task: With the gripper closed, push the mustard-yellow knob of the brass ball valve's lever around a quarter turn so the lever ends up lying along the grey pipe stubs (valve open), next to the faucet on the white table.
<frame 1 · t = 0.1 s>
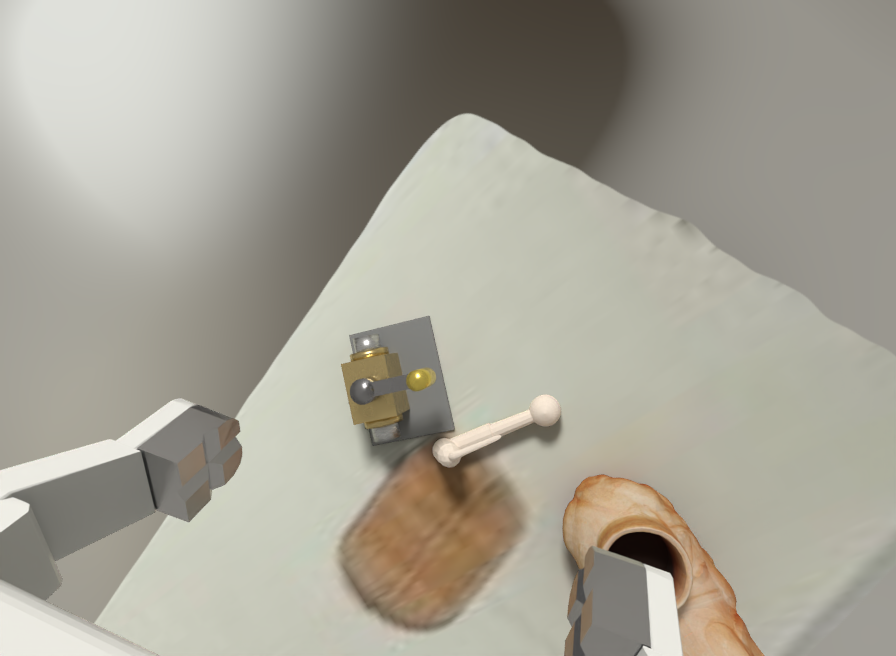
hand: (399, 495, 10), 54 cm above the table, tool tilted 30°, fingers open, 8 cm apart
valve base plate: (401, 381, 67), on the table
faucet: (495, 427, 64), on the table
ceramic vessel: (645, 560, 60), on the table
valve body: (383, 385, 67), resting on valve base plate
valve lever: (389, 385, 57), point 9 cm above the table, hinge at 0.0°
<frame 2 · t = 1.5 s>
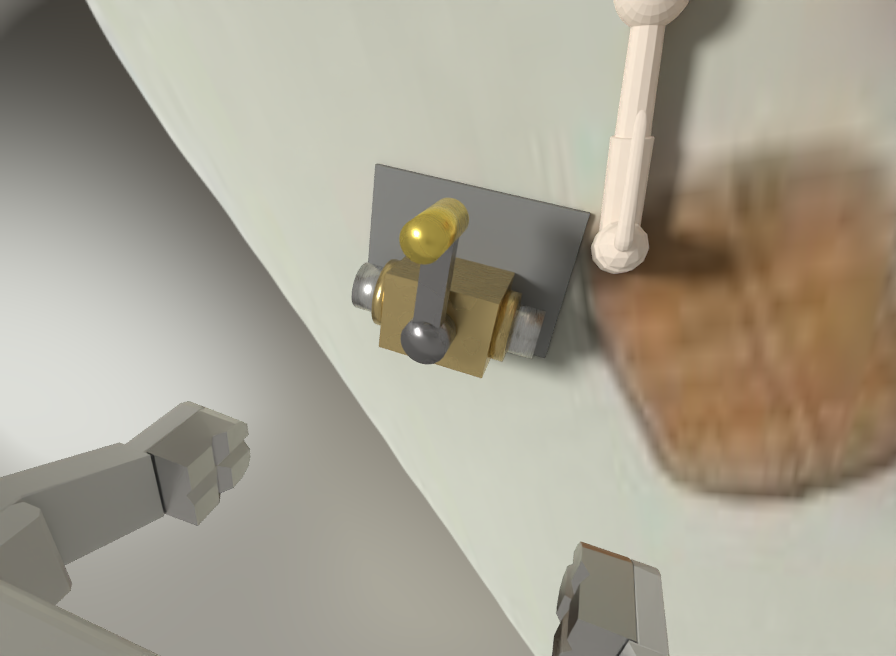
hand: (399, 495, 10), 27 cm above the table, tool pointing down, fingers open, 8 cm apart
valve base plate: (465, 263, 37), on the table
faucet: (631, 129, 30), on the table
valve body: (458, 294, 38), resting on valve base plate
valve lever: (428, 294, 29), point 9 cm above the table, hinge at 0.0°
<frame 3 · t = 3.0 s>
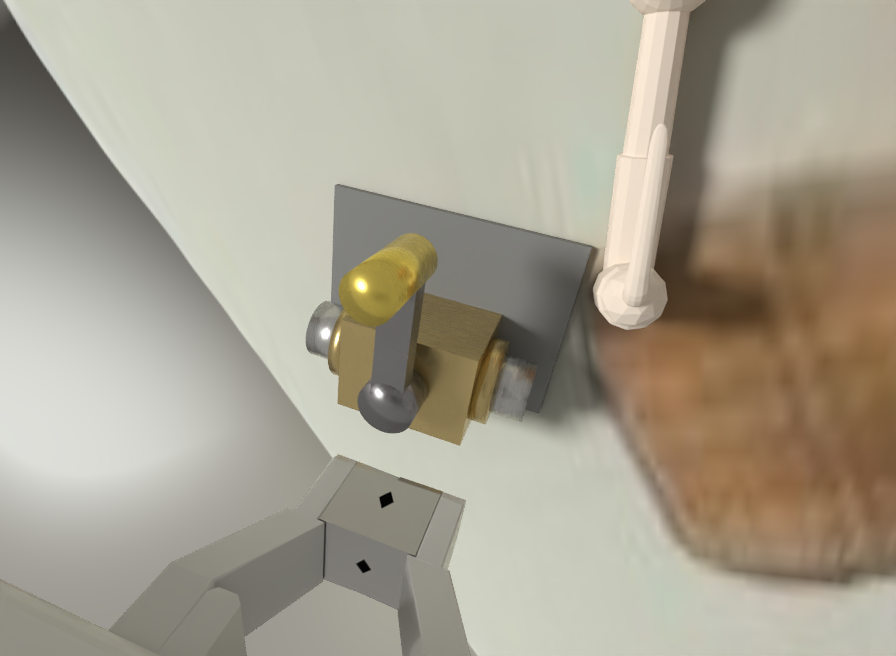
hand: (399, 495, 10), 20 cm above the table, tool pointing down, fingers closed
valve base plate: (443, 302, 31), on the table
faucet: (643, 145, 24), on the table
valve body: (436, 336, 32), resting on valve base plate
valve lever: (386, 354, 23), point 9 cm above the table, hinge at 0.0°
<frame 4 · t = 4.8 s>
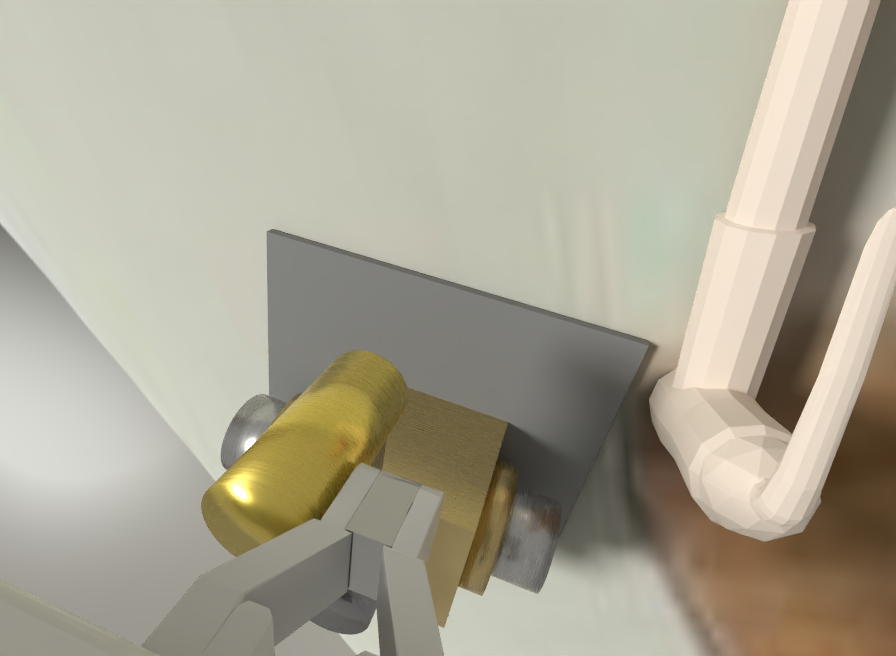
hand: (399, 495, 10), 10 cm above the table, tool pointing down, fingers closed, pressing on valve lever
valve base plate: (424, 396, 22), on the table
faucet: (746, 197, 15), on the table
valve body: (413, 440, 23), resting on valve base plate
valve lever: (321, 546, 13), point 9 cm above the table, hinge at 0.5°, touching gripper
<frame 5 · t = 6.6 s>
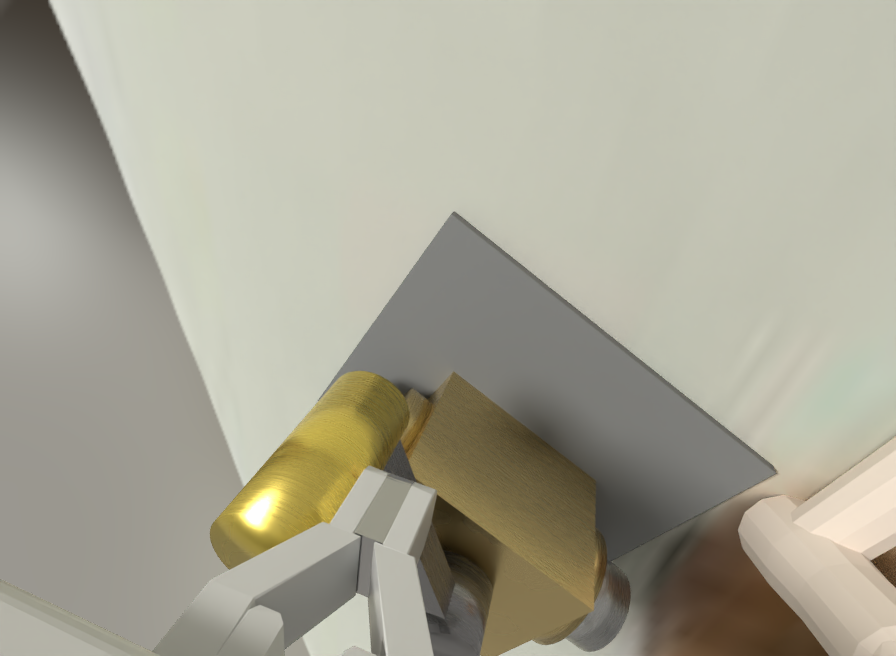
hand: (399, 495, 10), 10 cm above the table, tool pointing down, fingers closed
valve base plate: (519, 427, 21), on the table
valve body: (485, 460, 22), resting on valve base plate
valve lever: (386, 577, 13), point 9 cm above the table, hinge at 51.0°, touching gripper
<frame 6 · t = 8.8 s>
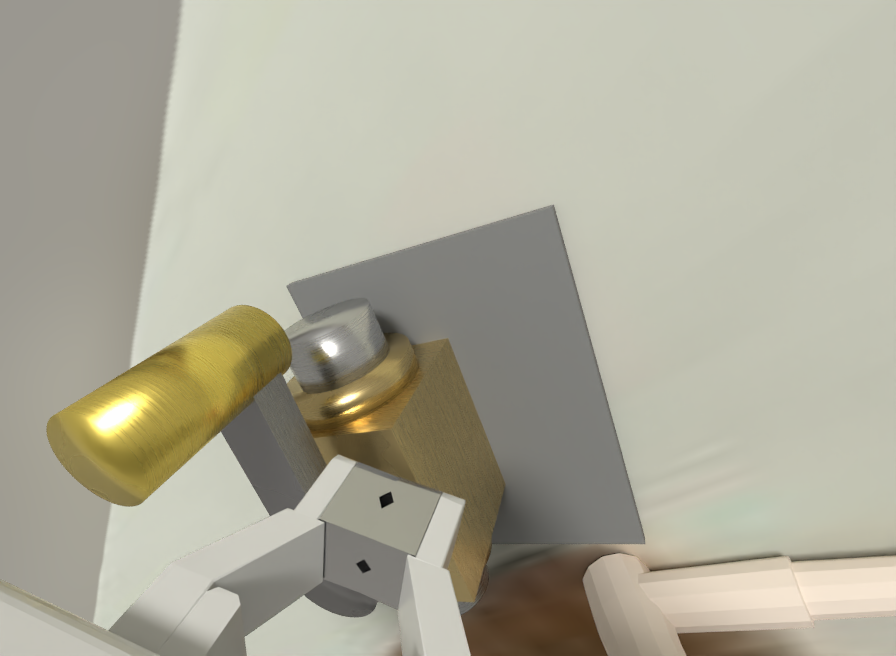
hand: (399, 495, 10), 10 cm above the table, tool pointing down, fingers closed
valve base plate: (470, 411, 22), on the table
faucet: (789, 543, 20), on the table
valve body: (420, 422, 22), resting on valve base plate
valve lever: (270, 510, 13), point 9 cm above the table, hinge at 86.5°
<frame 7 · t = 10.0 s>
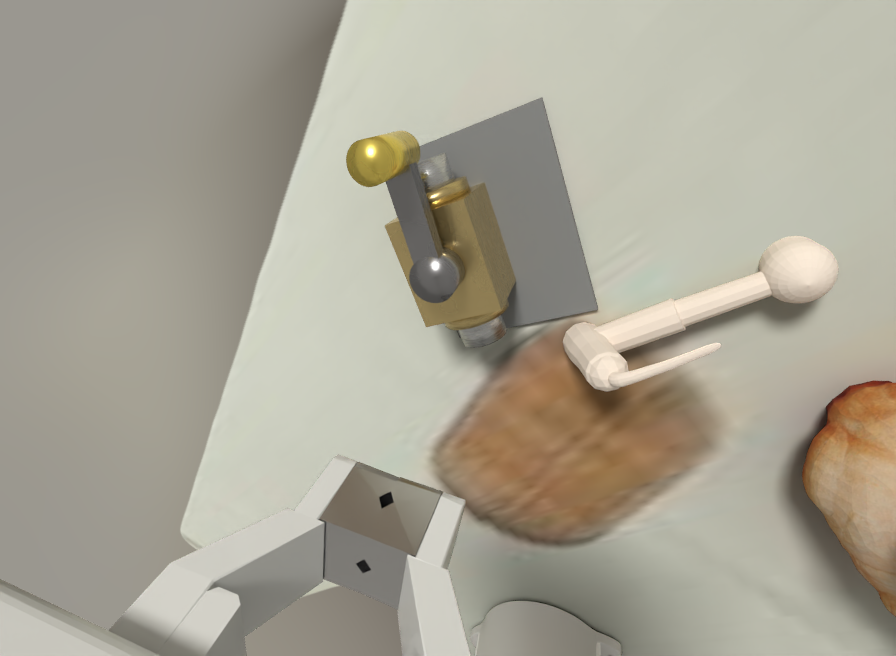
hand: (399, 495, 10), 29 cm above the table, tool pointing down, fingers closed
valve base plate: (495, 233, 37), on the table
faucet: (678, 300, 36), on the table
valve body: (465, 243, 38), resting on valve base plate
valve lever: (410, 226, 29), point 9 cm above the table, hinge at 86.5°
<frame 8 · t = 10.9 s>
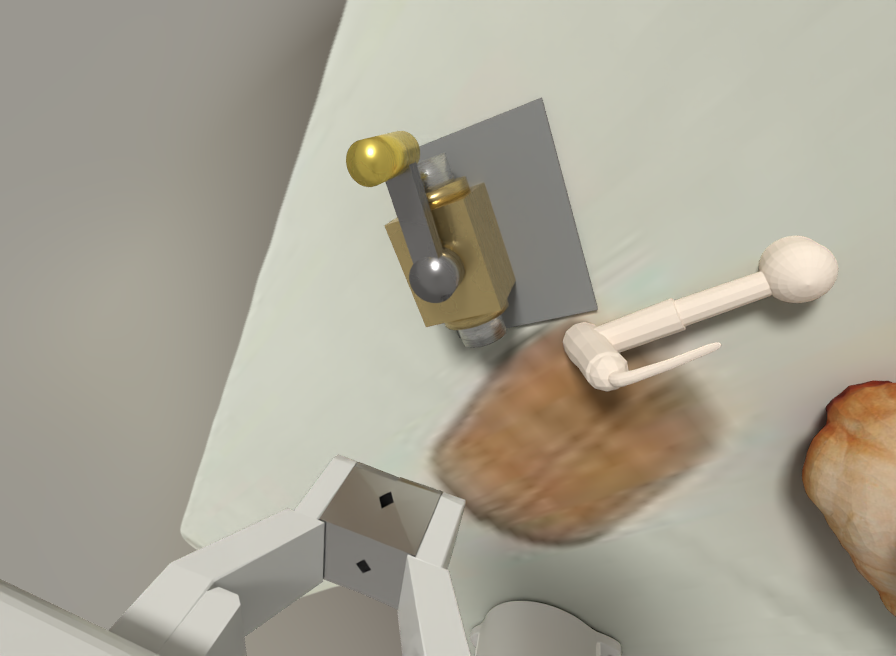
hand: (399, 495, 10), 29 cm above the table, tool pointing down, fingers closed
valve base plate: (495, 233, 37), on the table
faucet: (678, 300, 36), on the table
valve body: (465, 243, 38), resting on valve base plate
valve lever: (410, 226, 29), point 9 cm above the table, hinge at 86.5°
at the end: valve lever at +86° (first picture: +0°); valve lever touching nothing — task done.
